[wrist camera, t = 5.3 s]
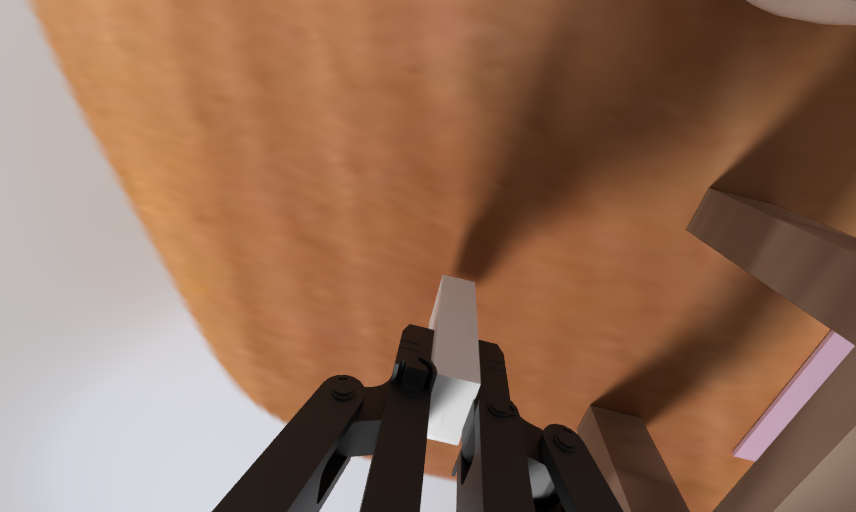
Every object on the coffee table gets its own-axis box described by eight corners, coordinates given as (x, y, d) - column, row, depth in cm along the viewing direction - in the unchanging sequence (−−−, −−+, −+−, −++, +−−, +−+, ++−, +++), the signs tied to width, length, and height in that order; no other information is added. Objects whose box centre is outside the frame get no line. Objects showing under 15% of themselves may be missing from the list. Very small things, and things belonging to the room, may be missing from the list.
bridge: (576, 430, 23) (645, 644, 15) (709, 187, 17) (971, 306, 8) (625, 441, 23) (723, 661, 15) (775, 204, 17) (1105, 339, 8)
